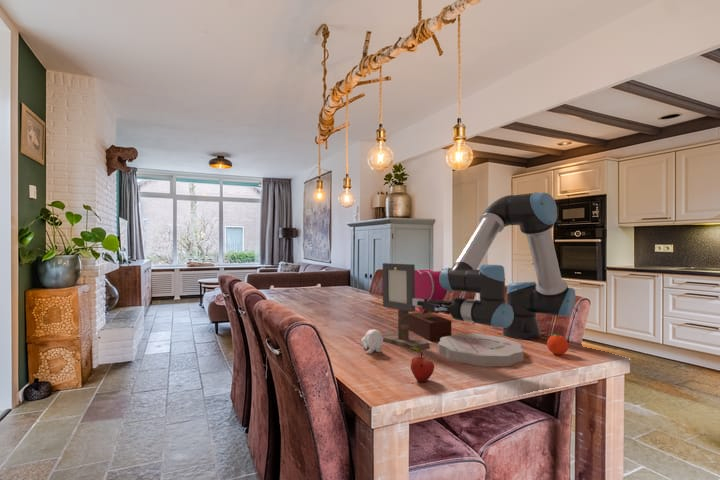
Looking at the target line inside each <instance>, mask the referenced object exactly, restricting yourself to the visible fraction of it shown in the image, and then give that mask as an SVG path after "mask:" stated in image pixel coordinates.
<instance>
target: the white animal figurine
mask: <svg viewBox="0 0 720 480" xmlns="http://www.w3.org/2000/svg"><path fill="white" fill-rule="evenodd" d="M381 334H382V332H380V331H379V330H377V329H368V331H366V333H365V335H364V336H363V337H362V338H361V340H360V341H361V347H362V348H364V349H365V350H366V351H365V354H367V355H369V354H372V353H373V352H374V351H375V352H376V353H381V352H382V350H381V348H382V347H383V342H384V341H383V337H382V335H381ZM368 347H369V349H368Z"/></svg>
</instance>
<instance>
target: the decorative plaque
mask: <svg viewBox="0 0 720 480" xmlns="http://www.w3.org/2000/svg"><path fill="white" fill-rule="evenodd" d="M437 345H438V347H437V349H438V350H437V351H438V353H439V354H440V355H442V356H444V357H447V358H448V359H449V360H450V361H452V362H459V363H465V364H469V365H473V366H477V367H489V366H492V367H495V366H496V367H508V366H511V365H513V364H516V363H521V362H523V361H524V349H523V348H522V344H521V343H519V342H516V341H512V340H510V339H508V338H507V337H502V336H494V335H488V334H485V333H483V334H482V333H455V334H451V336H446V337H441V338H440V340H439V342H438V343H437Z"/></svg>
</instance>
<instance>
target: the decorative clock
mask: <svg viewBox="0 0 720 480" xmlns="http://www.w3.org/2000/svg"><path fill="white" fill-rule="evenodd" d="M443 269H444V268H442V269H441V270H438V271H436V270H435V271H434V269H432V268H431V269H430V268H429V269H415V298H418V299H427V300H428V301H429V300H442V301H446V299H447V296H448V295H449V291H450V290H447V289H444V288H443V287H442V286H441V284H440V281H439V276H440V273H441V271H442V270H443ZM417 308H418V311H419V312H410V313H409V332H412V333H413V334H416V335H418V336H419V337H422V338H424V339H425V340H427V341H428V342H435V341H440V338H441V337H446V336H451V335H452V322H453V321H452V320H449V319H447V318H445V317H442V316H439V315H437V313H436V312H433V311H430V310H426V309H422V307H419V306H417Z"/></svg>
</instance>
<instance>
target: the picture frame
mask: <svg viewBox="0 0 720 480" xmlns="http://www.w3.org/2000/svg"><path fill="white" fill-rule="evenodd" d="M415 267H416V265H415V264H413V263H412V264H411V263H388V262H384V263H383V262H382V307H384V308H388V309H395V310H398V309H400V310H405V311H409V312H410V313H413V312H416V306H413V305H412V298H415V270H416V268H415Z"/></svg>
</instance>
